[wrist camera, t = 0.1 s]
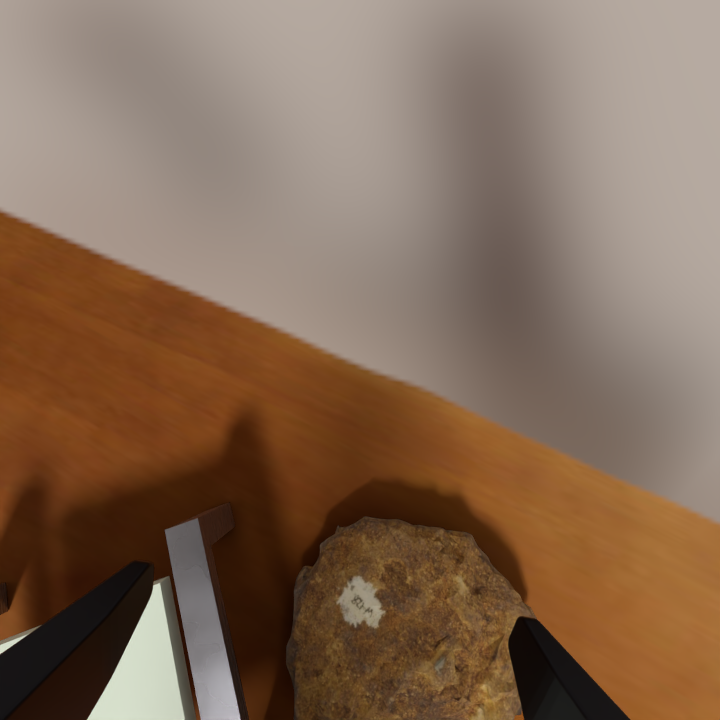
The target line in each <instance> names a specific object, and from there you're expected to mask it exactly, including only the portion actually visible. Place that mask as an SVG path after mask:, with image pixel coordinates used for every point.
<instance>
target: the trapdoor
mask: <svg viewBox="0 0 720 720" xmlns="http://www.w3.org/2000/svg"><path fill="white" fill-rule="evenodd" d="M40 626H41V625H40ZM40 626H38V627H40ZM38 627H35V628H32V629H30V630H27V631H25V632H22V633H19V634H17V635H14V636H12V637H9V638H6V639H4V640H1V641H0V654H1V653H3V652H4V651H6V650H7V649H8V648H10V647H11V646H13V645H14V644H15V643H17V642H18V641H20V640H21V639H23V638H24V637H25V636H27V635H28V634H30V633H31V632H33V631H34V630H35V629H37V628H38ZM87 720H196V715H195V709H194V704H193V699H192V694H191V688H190V683H189V678H188V672H187V667H186V662H185V656H184V651H183V646H182V641H181V635H180V630H179V625H178V619H177V614H176V609H175V603H174V598H173V593H172V587H171V582H170V577H169V576H167V577H165V578H162V579H159V580H157V581H154V582H153V591H152V595H151V597H150V600H149V602H148V604H147V606H146V608H145V610H144V612H143V614H142V616H141V618H140V620H139V622H138V624H137V627H136V629H135V631H134V633H133V635H132V637H131V639H130V641H129V643H128V645H127V647H126V649H125V651H124V653H123V655H122V657H121V660H120V662H119V664H118V666H117V668H116V670H115V672H114V674H113V676H112V678H111V679H110V681H109V683H108V685H107V687H106V688H105V690H104V692H103V694H102V695H101V697H100V699H99V700H98V702H97V704H96V705H95V707H94V709H93V711H92V712H91V714H90V716H89V717H88V719H87Z"/></svg>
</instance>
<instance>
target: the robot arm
mask: <svg viewBox="0 0 720 720" xmlns="http://www.w3.org/2000/svg"><path fill="white" fill-rule="evenodd" d="M153 578H154V564H153V563H152V562H150V561H144V560H134V561H132V562H131V563H129V564H128V565H126V566H125V567H123V568H122V569H121V570H119V571H118V572H116V573H115V574H114V575H112V576H111V577H109V578H108V579H106V580H105V581H104V582H102V583H101V584H99V585H98V586H96V587H95V588H94V589H92V590H91V591H89V592H88V593H87V594H85V595H84V596H82V597H81V598H79V599H78V600H77V601H75V602H74V603H72V604H71V605H69V606H68V607H67V608H65V609H64V610H62V611H61V612H60V613H58V614H57V615H55V616H54V617H52V618H51V619H50V620H48V621H47V622H45V623H44V624H42V625H41V626H40V627H38V628H37V629H35V630H34V631H33V632H31V633H30V634H28V635H27V636H25V637H24V638H23V639H21V640H20V641H18V642H17V643H15V644H14V645H13V646H11V647H10V648H8V649H7V650H6V651H4V652H3V653H1V654H0V720H87V719H88V717H89V716H90V714H91V712H92V711H93V709H94V707H95V705H96V704H97V702H98V700H99V699H100V697H101V695H102V694H103V692H104V690H105V688H106V687H107V685H108V683H109V681H110V679H111V678H112V676H113V674H114V672H115V670H116V668H117V666H118V664H119V662H120V660H121V657H122V655H123V653H124V651H125V649H126V647H127V645H128V643H129V641H130V639H131V637H132V635H133V633H134V631H135V629H136V627H137V624H138V622H139V620H140V618H141V616H142V614H143V612H144V610H145V608H146V606H147V604H148V602H149V600H150V597H151V595H152V591H153ZM508 649H509V654H510V659H511V663H512V667H513V672H514V676H515V681H516V685H517V689H518V694H519V698H520V703H521V707H522V711H523V716H524V720H630V719H629V718H628V717H627V716H626V714H625V713H624V712H623V711H622V710H621V709H620V708H619V707H618V706H617V705H616V704H615V703H614V702H613V700H612V699H611V698H610V697H609V696H608V695H607V694H606V693H605V692H604V691H603V690H602V689H601V687H600V686H599V685H598V684H597V683H596V682H595V681H594V680H593V679H592V678H591V677H590V676H589V675H588V673H587V672H586V671H585V670H584V669H583V668H582V667H581V666H580V665H579V664H578V663H577V662H576V660H575V659H574V658H573V657H572V656H571V655H570V654H569V653H568V652H567V651H566V650H565V649H564V648H563V646H562V645H561V644H560V643H559V642H558V641H557V640H556V639H555V638H554V637H553V636H552V635H551V634H550V632H549V631H548V630H547V629H546V628H545V627H544V626H543V625H542V624H541V623H540V622H539V621H538V620H537V619H535V618H533V617H526V616H519V617H518V618H517V620H516V622H515V624H514V627H513V629H512V631H511V634H510V636H509V639H508Z"/></svg>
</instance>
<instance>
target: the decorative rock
mask: <svg viewBox="0 0 720 720" xmlns="http://www.w3.org/2000/svg"><path fill="white" fill-rule="evenodd" d="M519 616H526V617H533V618H535V619H537V618H536V617H535V615H534V613H533V611H532V609H531V607H529V606H528V605H526V604H525V603H523V602H522V599H521V596H520V595H519V594H518V593H517V592H516V591H515V590H514V588H513V587H512V585H511V584H510V582H509V581H508V580H507V579H506V578H505V577H504V576H503V575H502V574H501V573H500V572H499V571H498V570H497V569H496V568H495V567H494V566H493V565H492V564H491V563H490V560H489V558H488V557H487V555H486V554H485V553H484V552H483V551H482V550H481V549H480V548H479V547H478V545H477V543H476V542H475V540H474V538H473V536H472V535H471V534H469V533H467V532H459V531H452V530H445V529H444V528H439V527H427V526H422V525H411V524H410V523H408V522H405V521H402V520H399V519H379V518H372V517H367V516H364V517H363V518H362V519H360V520H359V521H357V522H356V523H354V524H352V525H349V526H347V527H339V525H338V527H337V529H336V531H335V534H334V535H332V536H331V537H329V538H327V539H326V540H325V541H324V542H322V543H321V544H320V555H319V557H318V559H317V561H316V563H315V564H314V566H313V567H311V566H304V567H303V568H302V570H301V571H300V572H299V574H298V576H297V578H296V583H295V587H294V610H293V627H292V632H291V636H290V639H289V641H288V644H287V646H286V666H287V669H288V671H289V674H290V676H291V679H292V683H293V688H294V720H514V717H515V715H521V711H522V707H521V703H520V698H519V694H518V689H517V685H516V681H515V676H514V672H513V667H512V663H511V659H510V654H509V649H508V639H509V636H510V634H511V631H512V629H513V627H514V624H515V622H516V620H517V618H518V617H519Z"/></svg>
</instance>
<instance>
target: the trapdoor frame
mask: <svg viewBox="0 0 720 720" xmlns="http://www.w3.org/2000/svg"><path fill="white" fill-rule="evenodd" d="M234 527H235V523H234V518H233V514H232V510H231V506H230V502H229V503H226V504H223V505H220V506H218V507H215V508H212V509H209V510H206V511H204V512H202V513H200V514H198V515H196V516H193V517H191V518H189V519H187V520H185V521H183V522H181V523H179V524H176V525H174V526H172V527H170V528H168V529H166V530H165V534H166V539H167V545H168V550H169V555H170V560H171V566H172V571H173V576H174V581H175V587H176V592H177V597H178V602H179V608H180V613H181V618H182V623H183V628H184V634H185V639H186V644H187V649H188V655H189V660H190V665H191V670H192V676H193V681H194V686H195V691H196V697H197V702H198V707H199V712H200V717H201V720H249V716H248V712H247V707H246V703H245V698H244V693H243V689H242V684H241V680H240V675H239V671H238V666H237V661H236V657H235V652H234V648H233V643H232V638H231V634H230V629H229V625H228V620H227V616H226V611H225V606H224V602H223V597H222V593H221V588H220V583H219V579H218V574H217V570H216V565H215V561H214V556H213V551H212V547H211V545H213V544H214V543H215V542H216V541H218V540H219V539H220V538H221V537H223V536H224V535H225V534H226V533H227V532H229V531H230V530H231V529H232V528H234ZM7 611H8V603H7V592H6V583H3V584H0V615H1V614H3V613H5V612H7Z"/></svg>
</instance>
